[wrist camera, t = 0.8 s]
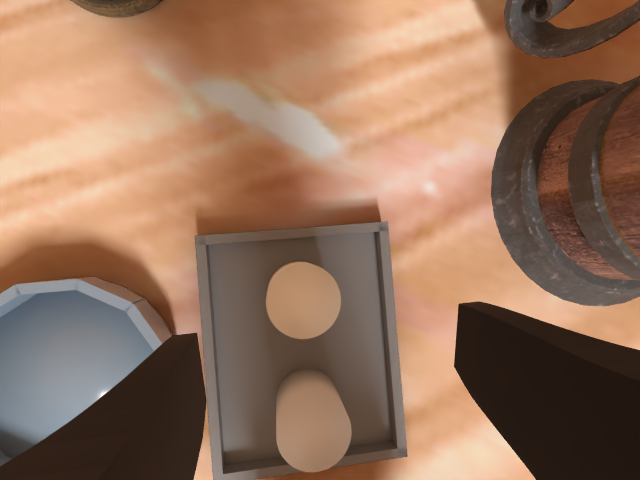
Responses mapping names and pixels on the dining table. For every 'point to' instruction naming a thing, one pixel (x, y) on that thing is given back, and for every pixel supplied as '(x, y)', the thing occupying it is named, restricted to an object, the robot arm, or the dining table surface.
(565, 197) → the tankard
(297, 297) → the beige rounded cylinder
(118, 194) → the dining table surface
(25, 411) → the bowl
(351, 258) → the parts tray
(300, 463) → the tan rounded cylinder
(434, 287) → the dining table surface
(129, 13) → the container
